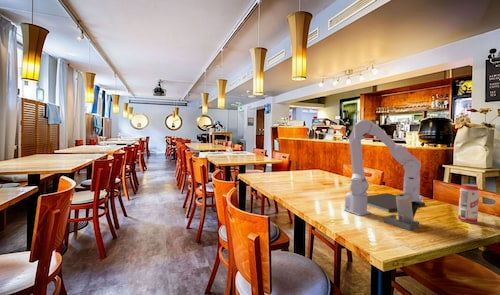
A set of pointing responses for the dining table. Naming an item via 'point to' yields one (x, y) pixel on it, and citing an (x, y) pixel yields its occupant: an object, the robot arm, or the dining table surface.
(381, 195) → the notebook
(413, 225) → the metal berth
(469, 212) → the beer can
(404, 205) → the energy drink
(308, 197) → the dining table surface
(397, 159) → the robot arm
